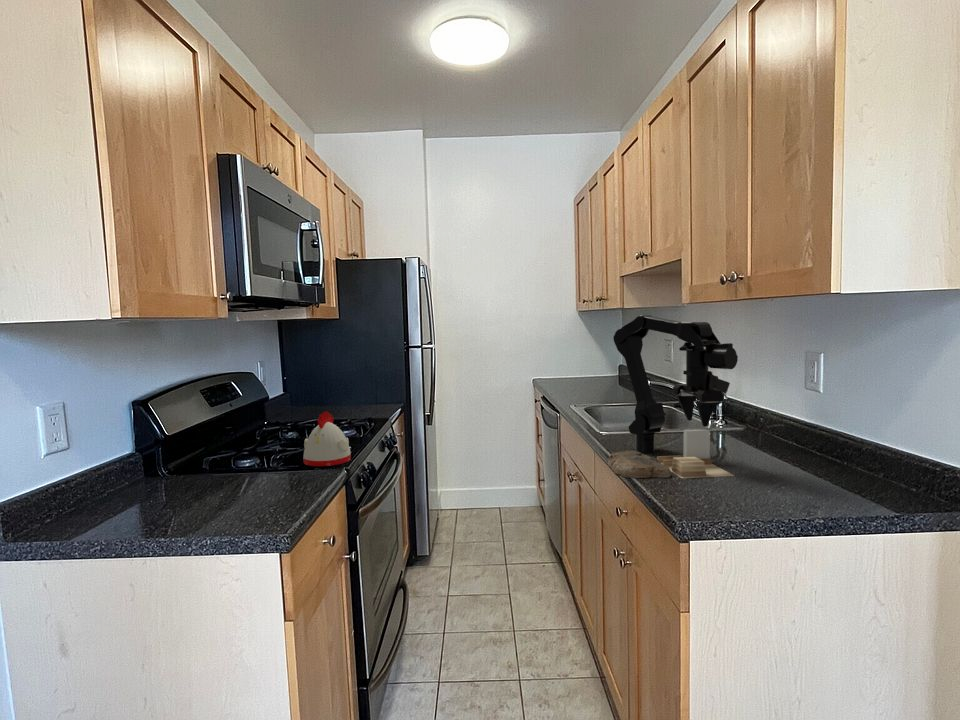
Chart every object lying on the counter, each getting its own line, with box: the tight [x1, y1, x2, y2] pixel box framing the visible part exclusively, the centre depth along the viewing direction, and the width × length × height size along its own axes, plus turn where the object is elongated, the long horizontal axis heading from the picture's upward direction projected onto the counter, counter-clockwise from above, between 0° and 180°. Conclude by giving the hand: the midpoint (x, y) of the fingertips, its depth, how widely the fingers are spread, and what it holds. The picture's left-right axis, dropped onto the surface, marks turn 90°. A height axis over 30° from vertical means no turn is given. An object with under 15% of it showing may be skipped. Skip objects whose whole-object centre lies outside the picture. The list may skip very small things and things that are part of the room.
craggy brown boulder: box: [607, 449, 672, 479], centre depth 149 cm, size 14×5×20 cm
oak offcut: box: [672, 462, 705, 472], centre depth 142 cm, size 6×6×1 cm
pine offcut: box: [673, 457, 704, 467], centre depth 142 cm, size 5×6×1 cm
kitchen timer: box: [303, 411, 352, 467], centre depth 166 cm, size 14×14×15 cm
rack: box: [656, 454, 735, 479], centre depth 147 cm, size 18×14×2 cm
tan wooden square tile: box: [672, 466, 706, 478], centre depth 142 cm, size 6×6×1 cm
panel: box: [682, 428, 711, 459], centre depth 152 cm, size 2×7×9 cm, turn 94°
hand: (697, 423), depth 152 cm, fingers open, 9 cm apart
